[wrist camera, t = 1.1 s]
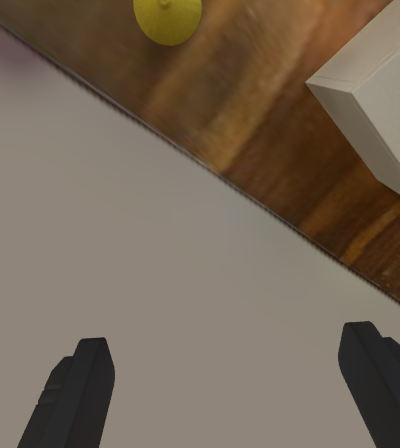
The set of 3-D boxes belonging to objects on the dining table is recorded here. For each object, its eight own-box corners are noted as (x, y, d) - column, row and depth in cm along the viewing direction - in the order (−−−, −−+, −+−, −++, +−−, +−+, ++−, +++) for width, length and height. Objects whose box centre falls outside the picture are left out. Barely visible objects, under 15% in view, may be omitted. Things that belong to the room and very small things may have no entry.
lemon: (210, 29, 30) (215, 20, 23) (159, 57, 31) (149, 57, 24) (184, -38, 28) (181, -71, 20) (130, -5, 29) (109, -25, 22)
